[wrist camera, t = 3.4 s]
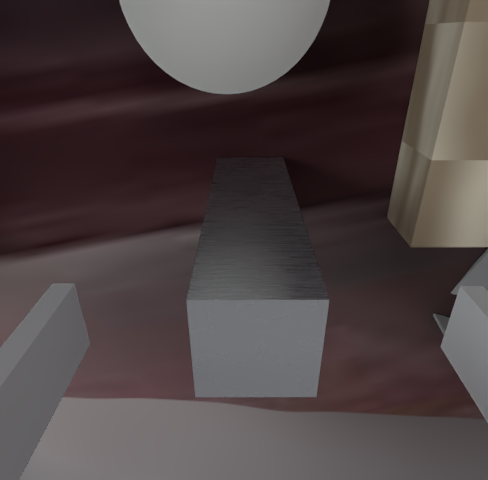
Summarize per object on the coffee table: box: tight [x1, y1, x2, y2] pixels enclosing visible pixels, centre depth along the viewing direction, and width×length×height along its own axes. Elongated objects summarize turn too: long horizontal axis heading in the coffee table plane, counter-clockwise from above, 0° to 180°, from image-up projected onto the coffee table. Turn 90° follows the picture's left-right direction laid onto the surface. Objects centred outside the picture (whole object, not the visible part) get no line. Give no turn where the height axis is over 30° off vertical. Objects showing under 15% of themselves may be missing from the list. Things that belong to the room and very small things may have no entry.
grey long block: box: [186, 157, 329, 397], centre depth 18 cm, size 4×4×14 cm
